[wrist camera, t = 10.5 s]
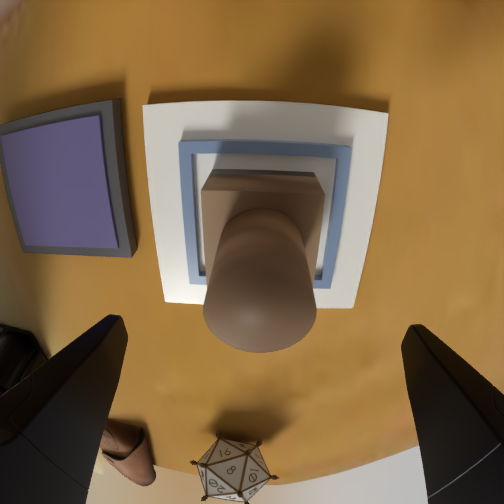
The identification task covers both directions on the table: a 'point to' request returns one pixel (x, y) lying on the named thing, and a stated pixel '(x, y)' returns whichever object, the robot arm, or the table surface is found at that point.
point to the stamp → (261, 256)
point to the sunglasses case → (128, 452)
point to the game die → (232, 470)
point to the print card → (263, 158)
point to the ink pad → (69, 181)
